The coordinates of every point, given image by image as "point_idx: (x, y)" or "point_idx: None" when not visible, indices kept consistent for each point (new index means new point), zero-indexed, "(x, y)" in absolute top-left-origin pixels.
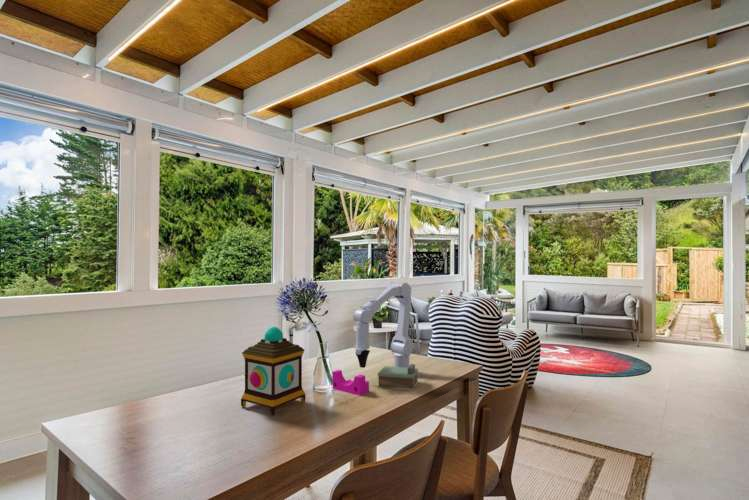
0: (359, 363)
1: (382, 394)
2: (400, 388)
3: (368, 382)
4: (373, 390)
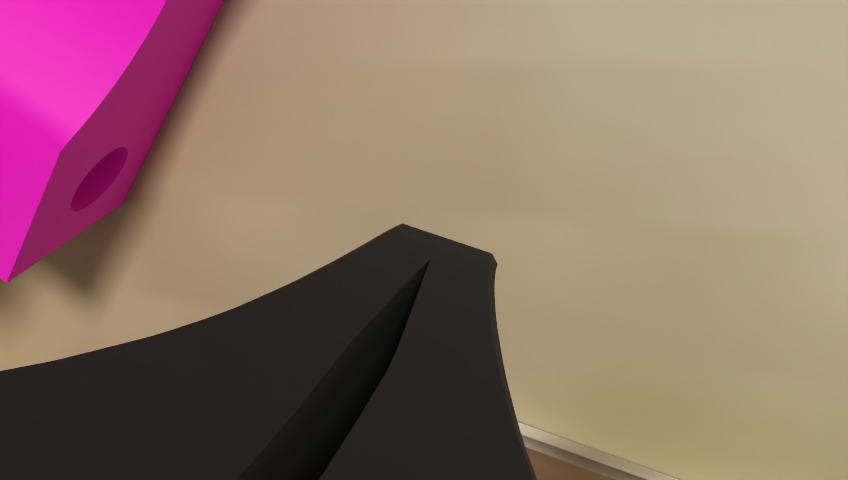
0: (329, 267)
1: (64, 355)
2: None
3: (7, 266)
4: (187, 269)
